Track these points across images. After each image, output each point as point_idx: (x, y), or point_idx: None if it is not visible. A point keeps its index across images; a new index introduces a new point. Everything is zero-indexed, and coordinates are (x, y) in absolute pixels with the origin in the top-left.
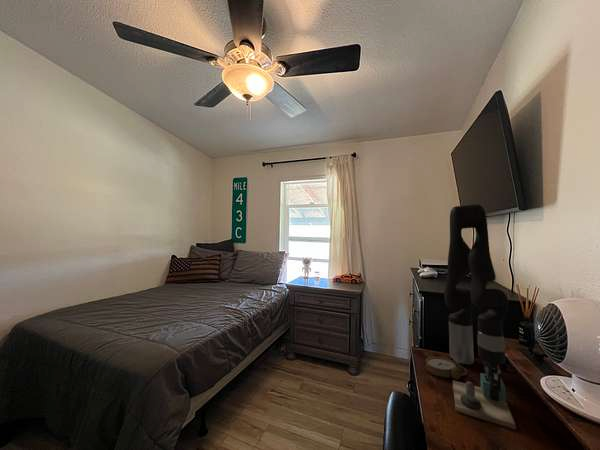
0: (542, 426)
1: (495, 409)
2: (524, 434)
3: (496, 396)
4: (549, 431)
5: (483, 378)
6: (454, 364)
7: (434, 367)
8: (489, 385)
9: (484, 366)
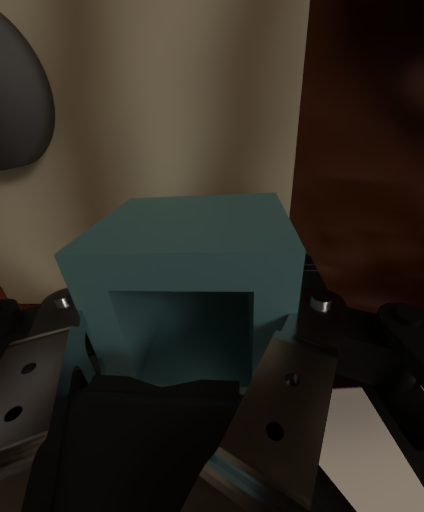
0: None
1: (60, 245)
2: (28, 308)
3: None
4: None
5: (156, 270)
6: None
7: None
8: (52, 300)
9: (205, 467)
